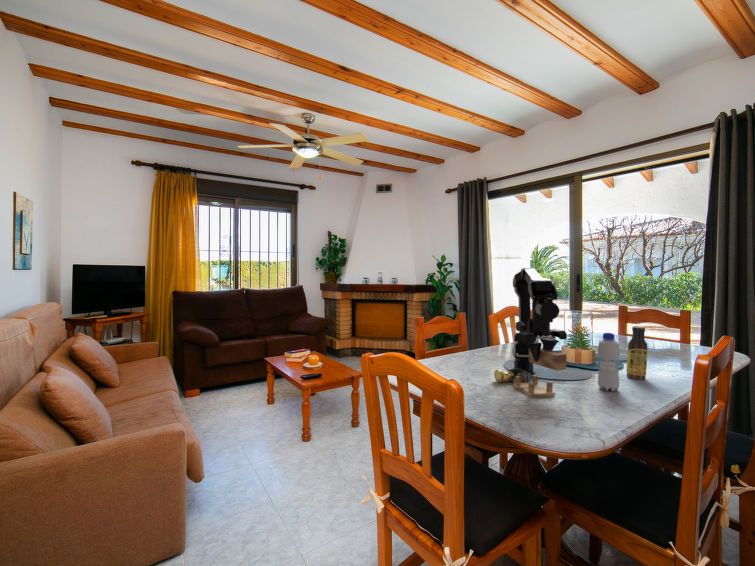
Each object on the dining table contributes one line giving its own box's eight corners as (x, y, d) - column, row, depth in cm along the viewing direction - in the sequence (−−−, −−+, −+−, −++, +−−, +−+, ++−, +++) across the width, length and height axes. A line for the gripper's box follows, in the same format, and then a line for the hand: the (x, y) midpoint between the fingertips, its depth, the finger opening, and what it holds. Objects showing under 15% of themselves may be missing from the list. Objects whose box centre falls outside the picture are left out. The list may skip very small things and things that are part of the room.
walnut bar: (566, 369, 120) (566, 354, 120) (557, 370, 118) (557, 355, 118) (537, 360, 131) (537, 346, 131) (528, 362, 129) (528, 348, 129)
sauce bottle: (628, 379, 140) (629, 327, 139) (624, 375, 146) (625, 325, 145) (649, 381, 138) (650, 328, 137) (644, 376, 143) (645, 326, 143)
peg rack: (513, 386, 133) (513, 375, 133) (533, 385, 135) (533, 373, 134) (533, 397, 121) (533, 385, 121) (554, 396, 123) (555, 383, 123)
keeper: (518, 377, 144) (518, 367, 144) (530, 383, 137) (530, 373, 137) (507, 378, 143) (507, 368, 143) (518, 384, 136) (518, 374, 136)
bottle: (595, 389, 129) (595, 333, 128) (599, 385, 134) (600, 330, 133) (617, 393, 124) (618, 335, 124) (621, 389, 129) (622, 332, 128)
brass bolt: (508, 379, 142) (508, 367, 142) (515, 382, 137) (515, 370, 137) (494, 380, 141) (494, 368, 141) (500, 383, 136) (500, 371, 136)
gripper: (542, 311, 137) (541, 353, 138) (503, 314, 130) (502, 358, 131) (568, 315, 127) (567, 359, 128) (527, 318, 120) (526, 366, 120)
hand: (540, 360), depth 127 cm, fingers closed on walnut bar, 4 cm apart
